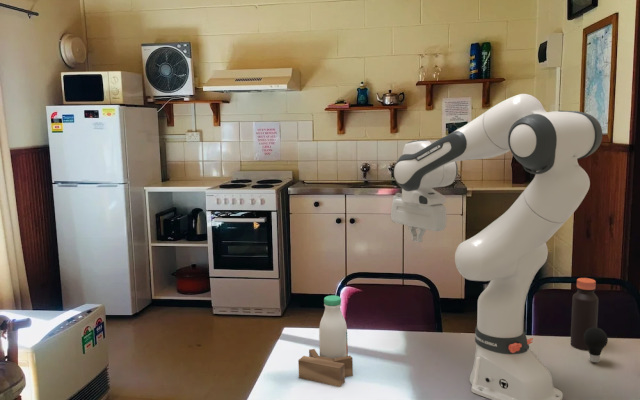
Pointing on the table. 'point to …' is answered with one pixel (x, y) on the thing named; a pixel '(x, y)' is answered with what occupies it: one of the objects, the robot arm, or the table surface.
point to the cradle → (325, 368)
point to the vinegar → (583, 311)
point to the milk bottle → (333, 330)
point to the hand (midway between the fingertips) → (417, 241)
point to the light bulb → (595, 342)
